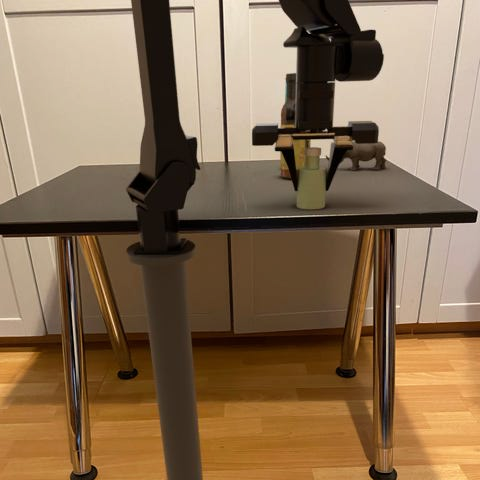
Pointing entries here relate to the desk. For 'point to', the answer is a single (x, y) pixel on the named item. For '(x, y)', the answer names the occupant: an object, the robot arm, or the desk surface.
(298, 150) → the sauce bottle
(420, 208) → the desk surface
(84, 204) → the desk surface
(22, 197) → the desk surface
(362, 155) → the rhino figurine
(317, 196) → the small bottle
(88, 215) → the desk surface
